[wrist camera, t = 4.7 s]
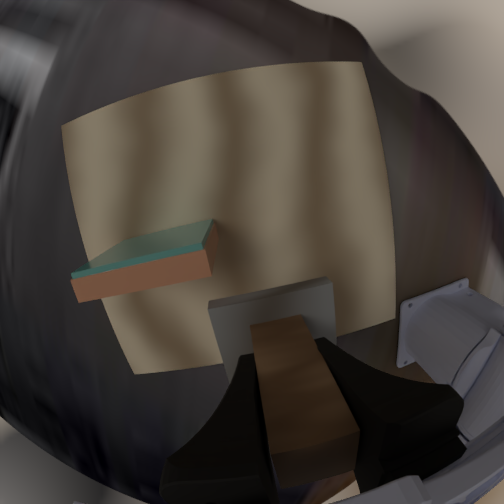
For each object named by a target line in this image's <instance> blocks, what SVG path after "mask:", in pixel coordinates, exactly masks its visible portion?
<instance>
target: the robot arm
mask: <svg viewBox="0 0 504 504" xmlns="http://www.w3.org/2000/svg"><path fill="white" fill-rule="evenodd" d="M468 284H469V280H468V279H467V278H463V279H461V280H458V281H456V282H453V283H451V284H448V285H446V286H443V287H441V288H438V289H436V290H433V291H430V292H428V293H425V294H422V295H419V296H417V297H414V298H411V299H408V300H405V301H403V302H402V303H401V306H400V325H399V341H398V353H397V363H396V365H397V366H398V368H401V367H403V366H406V365H408V364H410V363H413V362H415V361H416V362H417V363H418V364H419V365H420V366H421V367H422V368H423V369H424V370H425V371H426V373H427V374H428V375H429V376H430V377H431V378H432V379H433V380H434V381H435V382H436V383H437V384H434V383H424V382H418V381H413V380H408V379H404V378H400V377H397V376H393V375H390V374H388V373H385V372H382V371H380V370H377V369H375V368H373V367H371V366H369V365H367V364H365V363H363V362H361V361H359V360H358V359H356V358H354V357H353V356H351V355H349V354H348V353H346V352H345V351H343V350H342V349H340V348H339V347H338V346H336V345H335V344H333V343H332V342H331V341H329V340H328V339H327V338H325V337H321V338H317V339H314V341H315V343H316V345H317V349H318V350H319V352H320V353H321V354H322V356H323V358H324V360H325V362H326V364H327V366H328V368H329V370H330V372H331V374H332V376H333V378H334V380H335V382H336V383H337V385H338V387H339V389H340V391H341V393H342V395H343V397H344V399H345V401H346V403H347V405H348V407H349V409H350V411H351V413H352V415H353V417H354V419H355V421H356V423H357V425H358V427H359V429H360V437H359V445H358V451H357V458H356V464H355V469H354V473H355V477H356V480H357V483H358V486H359V490H360V494H359V495H356V496H353V497H350V498H347V499H343V500H340V501H337V502H334V503H330V504H474V503H475V502H476V501H478V500H479V499H480V498H481V497H483V496H484V495H485V494H486V493H488V492H489V491H490V490H491V489H492V488H494V487H495V486H496V485H497V484H498V483H499V482H501V481H502V480H503V479H504V308H503V307H502V306H501V305H499V304H498V303H496V302H494V301H492V300H491V299H489V298H487V297H485V296H484V295H482V294H480V293H478V292H476V291H475V290H473V289H471V288H469V287H468ZM409 304H410V305H409ZM408 305H409V306H408ZM159 494H160V495H161V496H162V498H163V499H164V500H165V501H166V502H167V503H169V504H280V503H279V498H278V493H277V488H276V484H275V478H274V473H273V468H272V463H271V458H270V452H269V444H268V436H267V430H266V424H265V418H264V412H263V406H262V400H261V394H260V388H259V381H258V375H257V369H256V363H255V356H254V353H250V354H245V355H240V357H239V358H238V363H237V366H236V369H235V372H234V375H233V378H232V380H231V382H230V385H229V387H228V389H227V391H226V393H225V395H224V397H223V399H222V400H221V402H220V404H219V406H218V407H217V409H216V410H215V412H214V413H213V415H212V416H211V417H210V419H209V420H208V421H207V422H206V424H205V425H204V426H203V427H202V428H201V430H200V431H199V432H198V433H197V434H196V435H195V436H194V437H193V438H192V439H191V440H190V441H189V442H188V443H186V444H185V445H184V446H183V447H182V448H180V449H179V450H178V451H176V452H175V453H174V454H172V455H171V456H170V457H168V458H167V459H166V462H165V465H164V467H163V471H162V474H161V481H160V487H159ZM73 504H86V503H82V502H78V501H74V503H73Z"/></svg>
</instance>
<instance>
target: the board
mask: <svg viewBox="0 0 504 504" xmlns="http://www.w3.org/2000/svg"><path fill="white" fill-rule="evenodd" d="M61 128H62V137H63V145H64V153H65V160H66V166H67V172H68V178H69V184H70V189H71V194H72V199H73V203H74V208H75V212H76V216H77V221H78V225H79V228H80V232H81V236H82V240H83V243H84V247H85V250H86V254H87V257H88V260H89V261H91V260H92V259H94V258H95V257H97V256H99V255H100V254H102V253H103V252H105V251H106V250H108V249H110V248H111V247H113V246H115V245H116V244H118V243H120V242H121V241H123V240H126V239H130V238H133V237H137V236H141V235H145V234H149V233H153V232H157V231H161V230H165V229H170V228H174V227H178V226H182V225H186V224H191V223H195V222H199V221H204V220H208V219H213V222H215V224H216V229H217V233H218V237H219V241H218V246H217V251H216V257H215V262H214V267H213V273H212V276H211V277H206V278H201V279H196V280H191V281H186V282H182V283H177V284H172V285H167V286H162V287H157V288H152V289H147V290H142V291H137V292H132V293H127V294H121V295H116V296H111V297H106V298H101V299H102V301H103V304H104V307H105V309H106V312H107V314H108V317H109V319H110V322H111V324H112V327H113V329H114V331H115V334H116V336H117V338H118V340H119V343H120V345H121V347H122V349H123V352H124V354H125V356H126V358H127V360H128V362H129V364H130V366H131V368H132V370H133V372H134V374H144V373H154V372H163V371H172V370H180V369H187V368H194V367H201V366H208V365H214V364H220V363H223V361H222V357H221V354H220V351H219V347H218V344H217V341H216V337H215V334H214V331H213V327H212V324H211V320H210V317H209V313H208V302H209V300H215V299H220V298H225V297H230V296H235V295H240V294H245V293H250V292H255V291H260V290H265V289H269V288H274V287H279V286H283V285H288V284H293V283H297V282H302V281H306V280H310V279H315V278H319V277H323V276H326V277H327V278H328V279H329V280H330V281H331V282H332V283H333V294H334V307H335V322H336V337H338V336H341V335H345V334H348V333H352V332H355V331H358V330H361V329H364V328H367V327H371V326H374V325H377V324H380V323H383V322H386V321H388V320H391V319H394V318H395V309H396V273H395V247H394V232H393V220H392V209H391V200H390V192H389V184H388V177H387V171H386V164H385V158H384V152H383V147H382V142H381V137H380V132H379V127H378V122H377V118H376V114H375V109H374V105H373V101H372V97H371V94H370V90H369V86H368V83H367V79H366V76H365V72H364V69H363V66H362V63H361V62H307V63H292V64H280V65H270V66H262V67H254V68H247V69H240V70H234V71H228V72H223V73H218V74H213V75H208V76H203V77H199V78H194V79H190V80H186V81H182V82H178V83H174V84H171V85H167V86H164V87H160V88H157V89H153V90H150V91H147V92H144V93H141V94H138V95H135V96H132V97H129V98H126V99H123V100H121V101H118V102H115V103H113V104H110V105H108V106H105V107H103V108H100V109H98V110H95V111H93V112H91V113H88V114H86V115H84V116H81V117H79V118H77V119H75V120H73V121H71V122H69V123H66V124H64V125H62V126H61Z"/></svg>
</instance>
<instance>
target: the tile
mask: <svg viewBox="0 0 504 504" xmlns="http://www.w3.org/2000/svg"><path fill="white" fill-rule="evenodd" d="M218 241H219V237H218V233H217V229H216V224H215V222H213V219H208V220H204V221H199V222H195V223H191V224H186V225H182V226H178V227H174V228H170V229H165V230H161V231H157V232H153V233H149V234H145V235H141V236H137V237H133V238H130V239H126V240H123V241H121V242H120V243H118V244H116V245H115V246H113V247H111V248H110V249H108V250H106V251H105V252H103V253H102V254H100V255H99V256H97V257H95V258H94V259H92V260H91V261H89V262H88V263H86V264H84V265H83V266H81V267H80V268H78V269H77V270H75V271H74V272H72V273H71V275H72V278H73V279H71V283H72V286H73V289H74V291H75V294H76V297H77V299H78V302H79V303H80V302H85V301H90V300H95V299H101V298H106V297H111V296H116V295H121V294H127V293H132V292H137V291H142V290H147V289H152V288H157V287H162V286H167V285H172V284H177V283H182V282H186V281H191V280H196V279H201V278H206V277H211V276H212V273H213V267H214V262H215V257H216V251H217V246H218Z"/></svg>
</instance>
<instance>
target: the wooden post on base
mask: <svg viewBox="0 0 504 504" xmlns="http://www.w3.org/2000/svg"><path fill="white" fill-rule="evenodd" d="M208 313H209V317H210V320H211V324H212V327H213V331H214V334H215V337H216V341H217V344H218V347H219V351H220V354H221V357H222V361H223V364H224V367H225V370H226V373H227V376H228V380H229V383H230V382H231V380H232V378H233V375H234V372H235V369H236V366H237V363H238V358H239V357H240V355H245V354H250V353H254V356H255V363H256V369H257V375H258V381H259V388H260V394H261V400H262V406H263V412H264V418H265V424H266V430H267V436H268V441H269V447H270V453H271V457H272V460H273V464H274V467H275V470H276V473H277V477H278V480H279V483H280V486H281V489H283V488H288V487H293V486H297V485H302V484H306V483H310V482H314V481H318V480H322V479H325V478H329V477H332V476H336V475H339V474H342V473H345V472H348V471H351V470H354V469H355V464H356V458H357V451H358V445H359V437H360V429H359V427H358V425H357V423H356V421H355V419H354V417H353V415H352V413H351V411H350V409H349V407H348V405H347V403H346V401H345V399H344V397H343V395H342V393H341V391H340V389H339V387H338V385H337V383H336V382H335V380H334V378H333V376H332V374H331V372H330V370H329V368H328V366H327V364H326V362H325V360H324V358H323V356H322V354H321V353H320V352H319V350H318V349H317V345H316V343H315V341H314V339H317V338H321V337H325V338H327V339H328V340H329V341H331V342H332V343H333V344H335V345H336V346H337V340H336V322H335V307H334V294H333V283H332V282H331V281H330V280H329V279H328V278H327V277H326V276H323V277H319V278H315V279H310V280H306V281H302V282H297V283H293V284H288V285H283V286H279V287H274V288H269V289H265V290H260V291H255V292H250V293H245V294H240V295H235V296H230V297H225V298H220V299H215V300H209V302H208Z"/></svg>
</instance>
